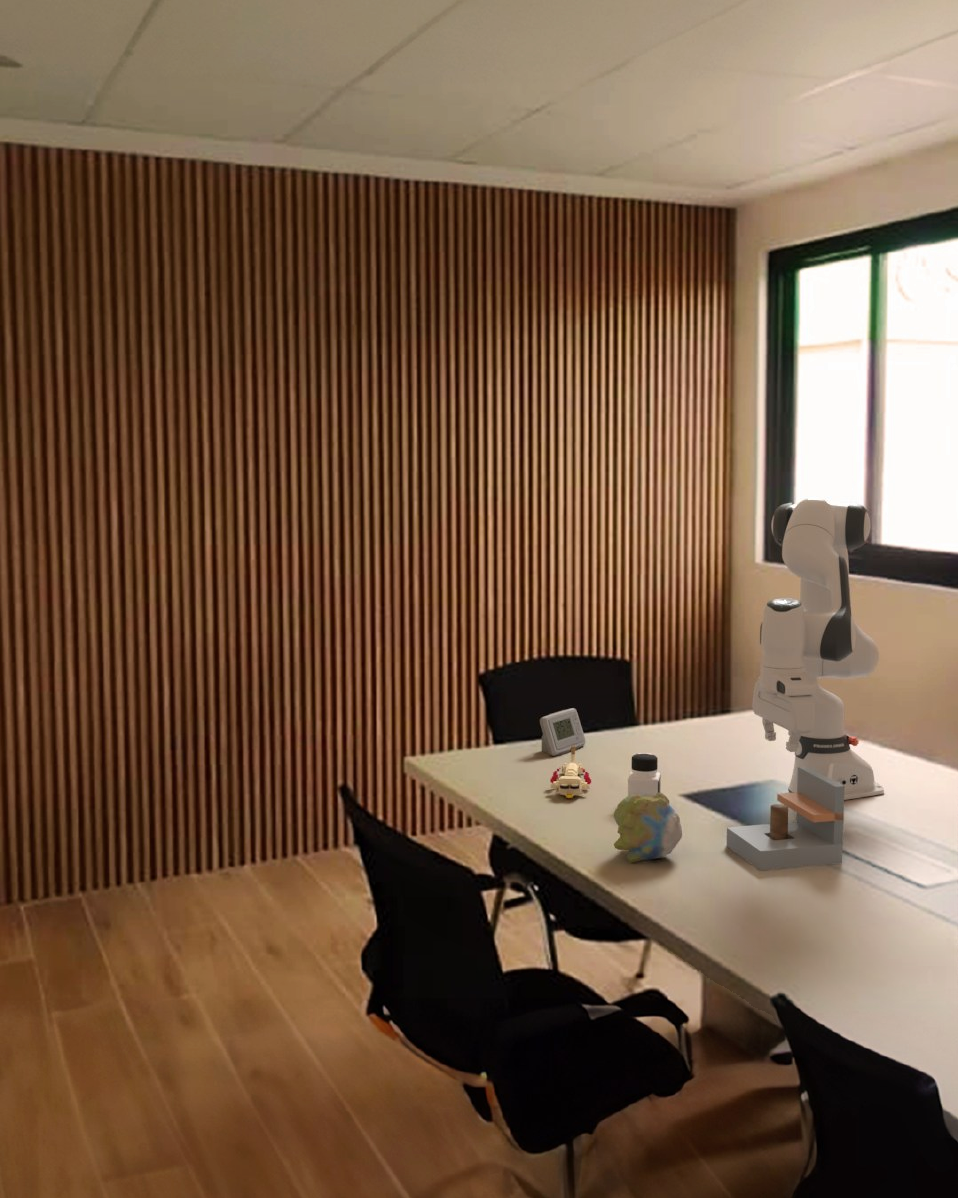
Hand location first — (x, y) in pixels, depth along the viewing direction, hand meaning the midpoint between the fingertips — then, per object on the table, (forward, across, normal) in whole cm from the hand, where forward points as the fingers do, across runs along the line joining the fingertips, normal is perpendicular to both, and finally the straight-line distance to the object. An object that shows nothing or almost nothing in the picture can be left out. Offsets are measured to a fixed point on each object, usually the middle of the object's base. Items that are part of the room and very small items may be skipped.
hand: (780, 745), depth 262 cm
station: (+23, 0, 0) cm, 23 cm away
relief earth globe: (+23, -6, -28) cm, 37 cm away
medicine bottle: (+23, -41, -14) cm, 49 cm away
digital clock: (+24, -95, -17) cm, 99 cm away
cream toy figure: (+24, -60, -26) cm, 69 cm away
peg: (+23, 0, 0) cm, 23 cm away
